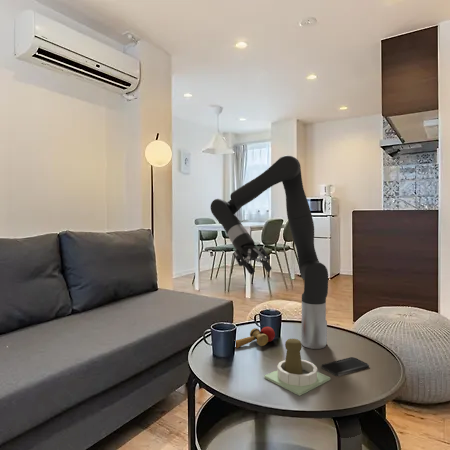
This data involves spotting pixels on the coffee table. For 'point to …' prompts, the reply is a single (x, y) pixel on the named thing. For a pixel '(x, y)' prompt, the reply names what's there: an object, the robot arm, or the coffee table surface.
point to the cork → (293, 357)
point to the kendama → (258, 337)
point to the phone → (345, 366)
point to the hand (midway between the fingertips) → (261, 271)
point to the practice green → (297, 378)
